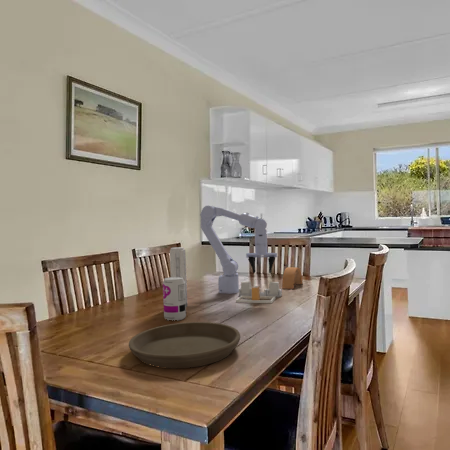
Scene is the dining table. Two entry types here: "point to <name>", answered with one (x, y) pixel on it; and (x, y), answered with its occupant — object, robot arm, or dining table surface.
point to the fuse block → (261, 293)
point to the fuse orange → (255, 293)
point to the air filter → (178, 265)
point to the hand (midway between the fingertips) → (262, 272)
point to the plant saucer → (185, 344)
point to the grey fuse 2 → (273, 287)
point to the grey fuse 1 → (245, 287)
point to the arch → (291, 277)
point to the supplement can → (174, 298)
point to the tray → (256, 300)
